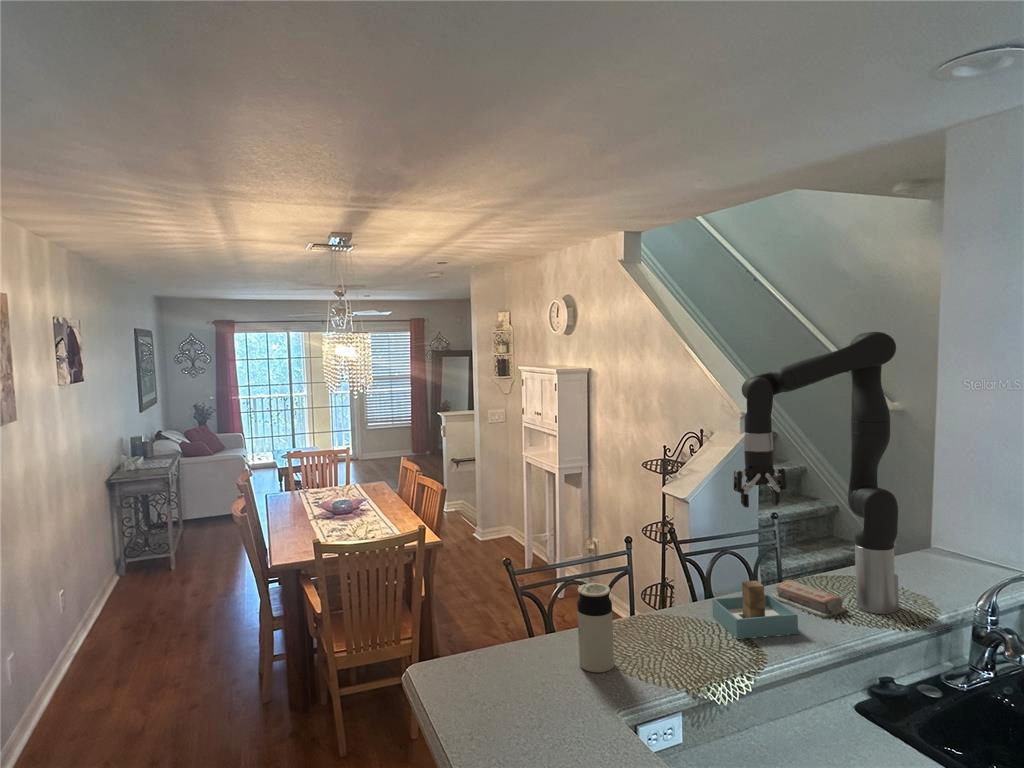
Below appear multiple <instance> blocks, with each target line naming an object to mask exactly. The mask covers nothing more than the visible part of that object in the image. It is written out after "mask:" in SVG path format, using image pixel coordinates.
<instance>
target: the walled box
mask: <svg viewBox="0 0 1024 768" xmlns="http://www.w3.org/2000/svg"><path fill="white" fill-rule="evenodd" d="M764 598H765V616H764V617H753V618H743V598H742V595H741V596H732V597H731V596H729V597H720V598H712V618H713V619H714V620H715V621H717V622H718V623H719V625H720V626H721V627H723V628H724V627H725V628H726V629H727V630H728V631H729V632H730V633H731V634H732V635H734V636H735V637H736V638H737V639H738V638H752V639H754V638H753V637H763V638H765V637H764V636H774V637H778V636H777V635H786V636H789V635H788V634H797V635H799V624H798V623H799V622H798V616H799V615H798V614H797V613H795V611H793V610H791V609H790V608H789V607H787V606H786V604H783V602H781V601H778V600H776V599H775V598H773V597H772V596H770V594H768V593H767V594H766V593H764ZM725 628H724V629H725ZM726 629H725V630H726ZM727 630H726V631H727ZM728 631H727V632H728ZM729 632H728V633H729ZM730 633H729V634H730ZM731 634H730V635H731ZM732 635H731V636H732ZM736 638H735V639H736ZM737 639H736V640H737Z"/></svg>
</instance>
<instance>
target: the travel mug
mask: <svg viewBox="0 0 1024 768" xmlns="http://www.w3.org/2000/svg"><path fill="white" fill-rule="evenodd" d="M577 592H578V594H579V598H578V600H577V602H576V604H577V605H576V606H577V609H576V610H577V631H578V634H577V635H578V655H579V656H578V658H579V666H580V668H582V669H583V670H585V671H587V672H589V673H605V672H608V671H610V670H612V669H613V668H614V666H615V653H614V649H615V648H614V647H615V646H614V626H613V625H614V623H613V620H614V619H613V602H612V600H611V598H610V592H611V588H610V587H609V585H606V584H605V583H599V582H598V583H597V582H596V583H595V582H592V583H591V582H590V583H584V584H582V585H580V586H578V588H577Z"/></svg>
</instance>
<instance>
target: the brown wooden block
mask: <svg viewBox="0 0 1024 768" xmlns="http://www.w3.org/2000/svg"><path fill="white" fill-rule="evenodd" d="M741 584H742V585H741V590H742V591H741V592H742V595H741V596H742V598H743V618H753V617H764V616H765V598H764V594H765V586H764V585H763V584H762V583H761V582H759V581H758V580H749V581H746V580H745V581H741Z"/></svg>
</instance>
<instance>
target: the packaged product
mask: <svg viewBox="0 0 1024 768" xmlns="http://www.w3.org/2000/svg"><path fill="white" fill-rule="evenodd" d="M775 589H776V591H774V592H771V593H770V594H769V595H770V596H772V597H773V598H775V599H776V600H778V601H779V602H780V603H782V604H783V603H784V605H787V606H791V607H793V608H796V609H797V610H800V611H803V610H804V611H803V612H806V611H807V612H806V613H809V614H811V613H812V615H814V614H815V615H814V616H817V617H820V618H822V619H826V617H827V618H829V617H832V616H835V615H838V614H842V613H844V612H846V611H847V607H846V605H843V604H842V602H843V600H842V597H841V596H838V595H836V594H832V593H830V592H827V591H824V590H822V589H818V588H816V587H812V586H809V585H807V584H803V583H800V582H797V581H795V580H791V579H785V580H783V581H782V582H781V583H779V584H778V585H777V586H776V588H775Z"/></svg>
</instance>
